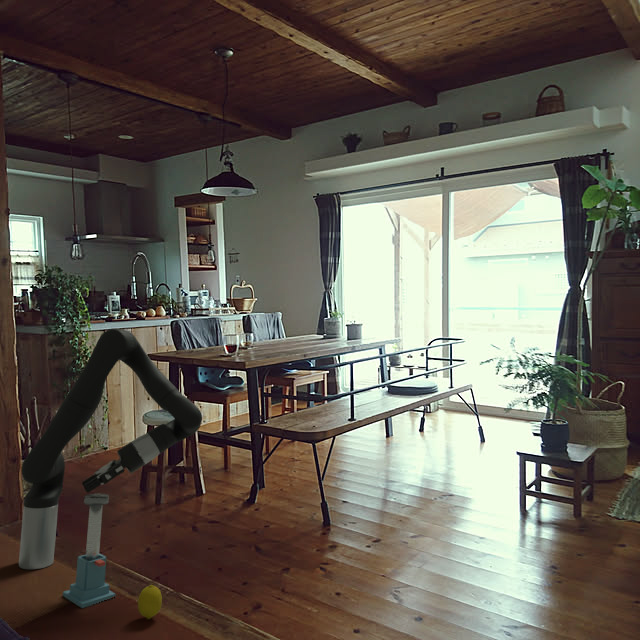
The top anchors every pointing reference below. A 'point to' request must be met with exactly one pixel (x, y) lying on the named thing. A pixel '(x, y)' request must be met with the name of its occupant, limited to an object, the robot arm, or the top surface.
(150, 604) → the lemon
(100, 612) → the top surface
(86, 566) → the stand base
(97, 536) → the column
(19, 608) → the top surface
